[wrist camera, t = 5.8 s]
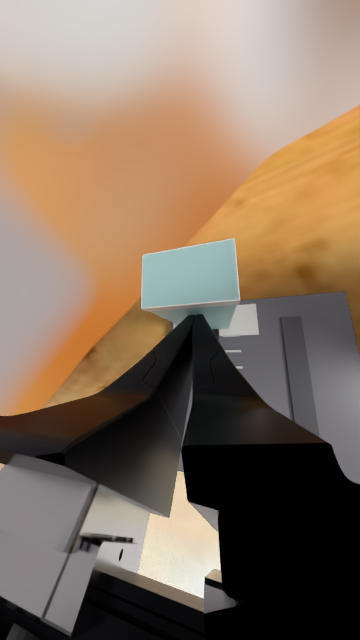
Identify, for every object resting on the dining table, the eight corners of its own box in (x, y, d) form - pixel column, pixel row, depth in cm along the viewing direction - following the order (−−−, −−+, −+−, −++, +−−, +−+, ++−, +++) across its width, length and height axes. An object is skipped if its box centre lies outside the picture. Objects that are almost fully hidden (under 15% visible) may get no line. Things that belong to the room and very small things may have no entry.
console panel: (378, 497, 12) (397, 516, 11) (175, 462, 16) (171, 472, 15) (337, 294, 15) (349, 289, 13) (173, 308, 19) (170, 305, 17)
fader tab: (228, 329, 16) (240, 300, 6) (189, 331, 17) (141, 308, 7) (226, 305, 17) (234, 237, 6) (188, 308, 18) (142, 254, 7)
